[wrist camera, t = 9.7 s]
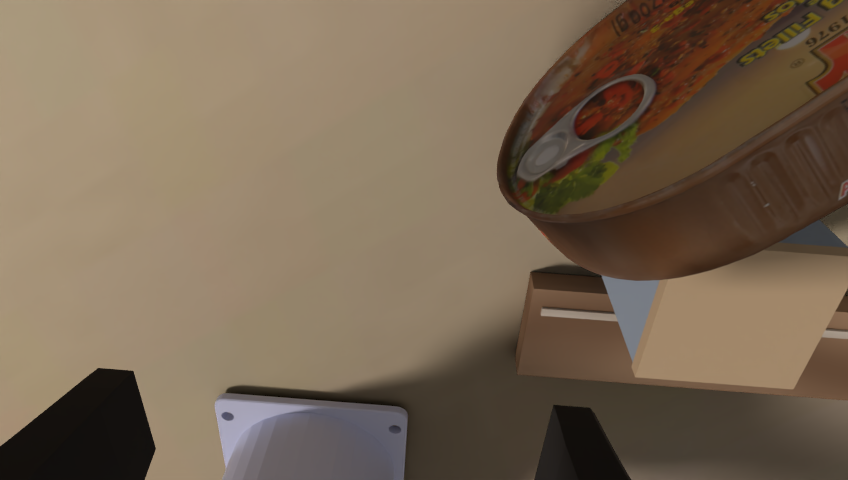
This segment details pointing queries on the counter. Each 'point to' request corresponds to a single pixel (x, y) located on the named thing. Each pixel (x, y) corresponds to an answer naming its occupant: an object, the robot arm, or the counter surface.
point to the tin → (685, 135)
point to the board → (607, 351)
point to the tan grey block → (736, 314)
